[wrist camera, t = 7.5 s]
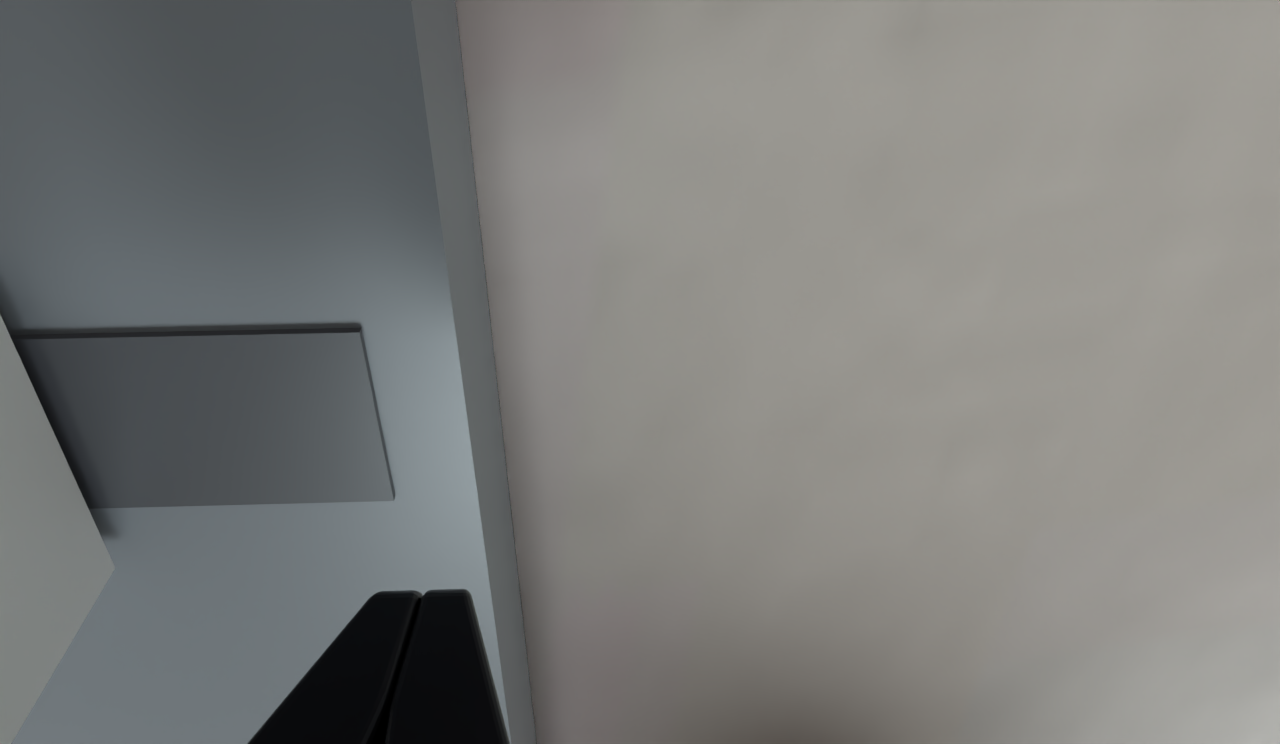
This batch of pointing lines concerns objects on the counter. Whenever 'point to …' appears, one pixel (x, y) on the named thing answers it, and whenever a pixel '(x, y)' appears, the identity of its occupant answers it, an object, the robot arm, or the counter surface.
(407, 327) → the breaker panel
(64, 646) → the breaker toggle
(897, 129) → the counter surface
